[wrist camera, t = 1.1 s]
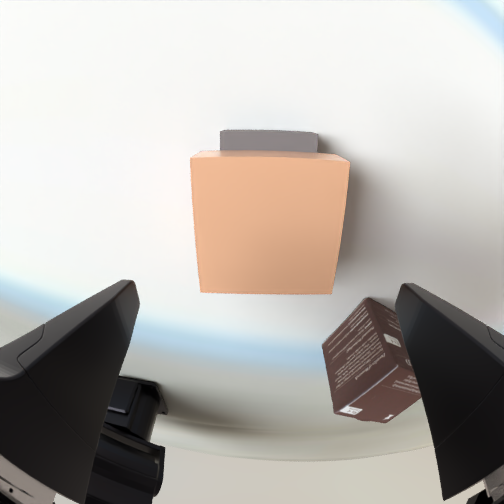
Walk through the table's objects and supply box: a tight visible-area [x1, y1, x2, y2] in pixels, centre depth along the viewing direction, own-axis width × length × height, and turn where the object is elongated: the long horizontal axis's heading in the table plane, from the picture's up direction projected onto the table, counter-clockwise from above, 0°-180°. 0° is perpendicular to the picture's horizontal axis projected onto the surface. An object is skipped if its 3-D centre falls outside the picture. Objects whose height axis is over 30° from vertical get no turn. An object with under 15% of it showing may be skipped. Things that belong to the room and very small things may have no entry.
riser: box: [220, 130, 318, 153], centre depth 16 cm, size 9×5×2 cm, turn 0°
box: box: [322, 298, 421, 423], centre depth 19 cm, size 6×6×7 cm
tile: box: [190, 150, 350, 294], centre depth 14 cm, size 7×7×2 cm
